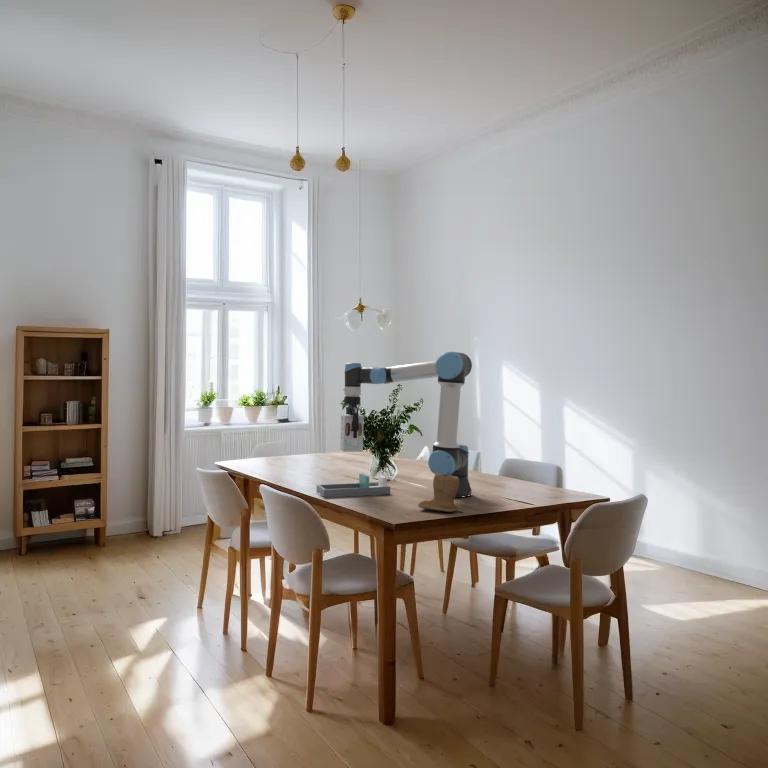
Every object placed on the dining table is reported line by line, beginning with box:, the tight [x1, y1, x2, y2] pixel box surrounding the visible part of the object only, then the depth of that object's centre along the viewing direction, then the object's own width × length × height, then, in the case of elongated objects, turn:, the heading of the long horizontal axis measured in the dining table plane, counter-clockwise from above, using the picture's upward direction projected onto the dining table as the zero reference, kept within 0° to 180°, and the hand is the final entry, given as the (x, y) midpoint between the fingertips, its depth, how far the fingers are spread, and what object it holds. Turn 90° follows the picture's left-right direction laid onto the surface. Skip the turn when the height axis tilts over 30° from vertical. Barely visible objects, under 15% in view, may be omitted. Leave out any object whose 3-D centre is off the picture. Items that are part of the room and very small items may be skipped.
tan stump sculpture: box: [417, 473, 460, 513], centre depth 275 cm, size 15×12×15 cm
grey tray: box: [316, 481, 391, 498], centre depth 311 cm, size 14×31×4 cm, turn 109°
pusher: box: [358, 472, 388, 488], centre depth 314 cm, size 11×11×7 cm
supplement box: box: [339, 413, 365, 453], centre depth 317 cm, size 10×9×17 cm
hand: (351, 444), depth 317 cm, fingers closed on supplement box, 9 cm apart
